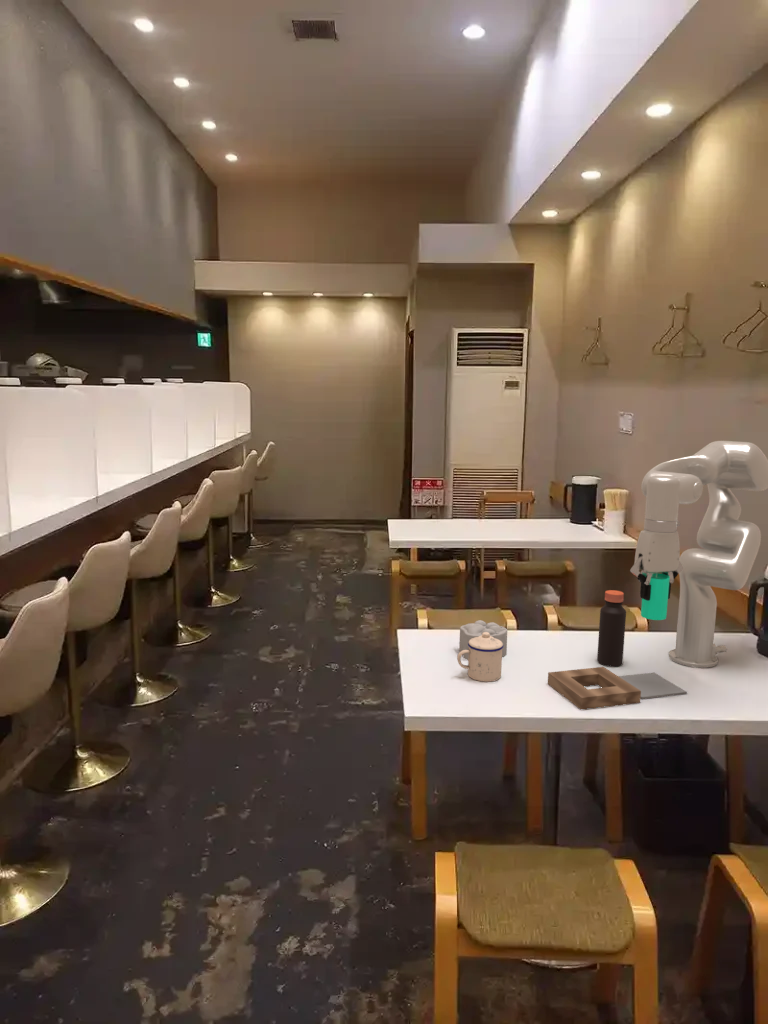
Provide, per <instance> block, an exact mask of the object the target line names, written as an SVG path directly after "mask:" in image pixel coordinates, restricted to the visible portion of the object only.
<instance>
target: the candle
mask: <svg viewBox="0 0 768 1024" xmlns="http://www.w3.org/2000/svg"><path fill="white" fill-rule="evenodd" d="M646 575H647V574H646ZM645 578H646V576H645ZM669 580H670V576H667V575H665V574H662V572H660V573H653V574H652V577H651V580H650V583H649V585H651V594H650V600H648V601H647V600H645V599H643V598H641V605H640V606H641V610H640V616H641V617H642V618H644V619H647V620H653V621H662V620H664V621H665V620H666V619H667V615H668V603H669V602H668V601H669V599H668V592H669Z"/></svg>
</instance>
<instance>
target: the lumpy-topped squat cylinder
mask: <svg viewBox="0 0 768 1024" xmlns="http://www.w3.org/2000/svg"><path fill="white" fill-rule="evenodd" d="M483 632H488V633H490V636H492V637H493V638H496V639H498V640H500V641H501V642H502V643H503V648H502V657H503V658H504V657H506V656H507V652H508V651H507V648H508V629H507V628H506V627H504V626H502V625H499V624H498V623H497V622H493V621H492V622H486V621H484V620H480V619H479V620H475V622H474V623H473V622H472V623H467V624H463V625H461V626H460V627H459V643H458V644H459V648H458V649H459V653H460V652H461V651H462V650H469V646H468V642H469V640H470V639H472V638H475V637H479V636H481V635H482V633H483ZM462 656H463V658H464V659H465V660H468V657H469V653H465V654H463V655H462Z"/></svg>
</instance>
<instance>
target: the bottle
mask: <svg viewBox="0 0 768 1024" xmlns="http://www.w3.org/2000/svg"><path fill="white" fill-rule="evenodd" d="M624 595H625V593H624V592H623V591H621V590H616V589H615V590H614V589H613V590H611V589H609V590H605V592H604V602H605V604H604V605H603V606H601V608H600V611H599V624H598V625H599V626H598V639H597V641H598V642H597V653H596V654H597V656H596V657H597V658H596V661H597V663H599V664H600V665H602V666H606V667H614V668H615V667H620V666H622V665H623V662H624V661H623V660H624V651H625V650H624V648H625V647H624V646H625V633H626V622H627V621H626V618H627V611H626V609H625V608H624V607H623V604H624V600H625V599H624Z"/></svg>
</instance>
